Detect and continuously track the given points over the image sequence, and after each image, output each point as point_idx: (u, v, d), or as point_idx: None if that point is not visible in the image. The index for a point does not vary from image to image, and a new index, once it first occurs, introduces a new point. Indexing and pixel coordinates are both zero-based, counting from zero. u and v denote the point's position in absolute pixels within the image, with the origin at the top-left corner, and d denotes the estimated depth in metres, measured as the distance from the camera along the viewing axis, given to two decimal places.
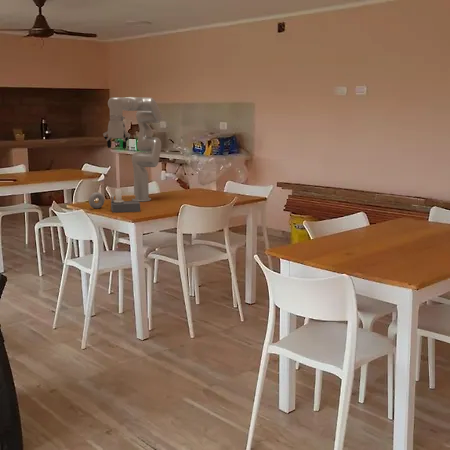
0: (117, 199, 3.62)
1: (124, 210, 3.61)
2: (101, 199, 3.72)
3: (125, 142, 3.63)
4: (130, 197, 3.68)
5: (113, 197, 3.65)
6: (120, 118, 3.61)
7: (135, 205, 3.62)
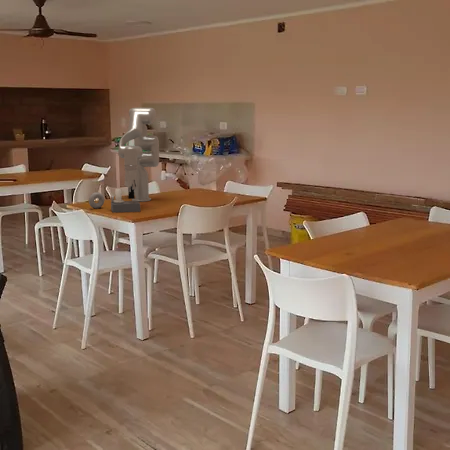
0: (117, 199, 3.62)
1: (124, 210, 3.61)
2: (101, 199, 3.72)
3: None
4: None
5: (113, 197, 3.65)
6: None
7: (135, 205, 3.62)
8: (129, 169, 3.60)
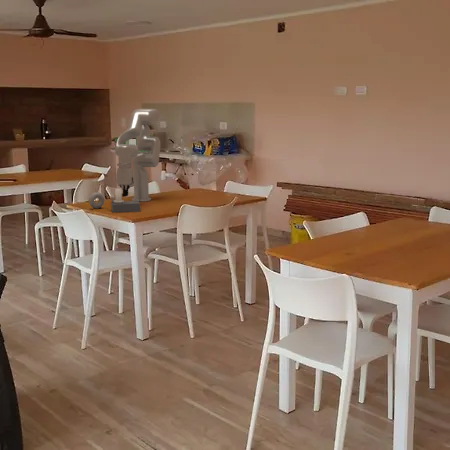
0: (117, 199, 3.62)
1: (124, 210, 3.61)
2: (101, 199, 3.72)
3: None
4: None
5: (114, 197, 3.66)
6: None
7: (135, 205, 3.62)
8: (127, 167, 3.68)
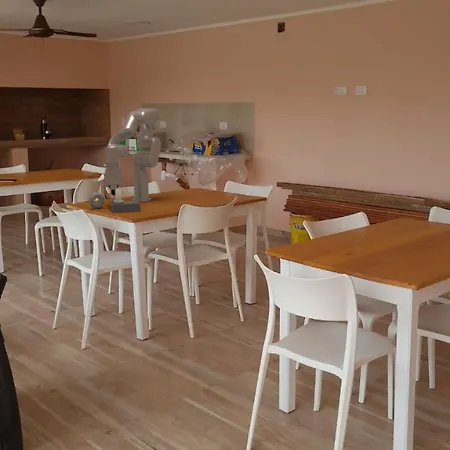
0: (117, 199, 3.62)
1: (124, 210, 3.61)
2: (101, 199, 3.72)
3: None
4: None
5: None
6: None
7: (135, 205, 3.62)
8: (118, 167, 3.72)
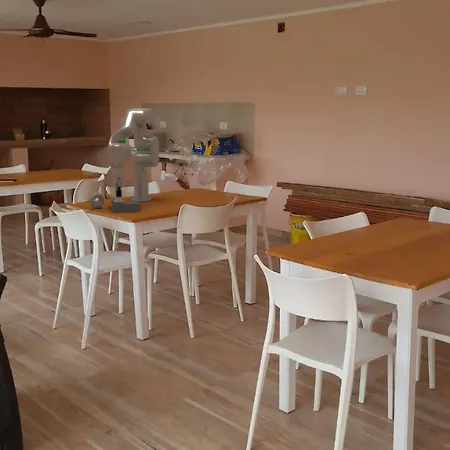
0: (117, 199, 3.62)
1: (124, 210, 3.61)
2: (101, 199, 3.72)
3: None
4: None
5: None
6: None
7: (135, 205, 3.62)
8: (115, 167, 3.57)
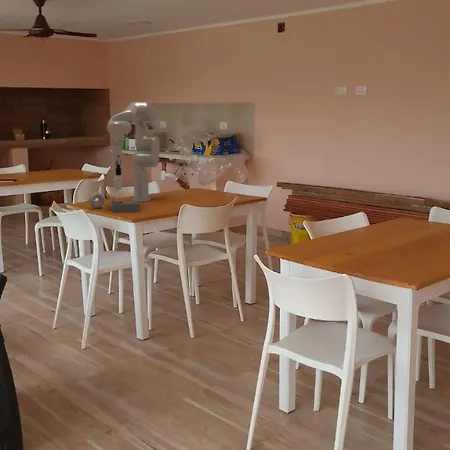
0: (117, 177, 3.60)
1: (124, 210, 3.61)
2: (101, 199, 3.72)
3: None
4: None
5: None
6: None
7: (135, 205, 3.62)
8: (114, 144, 3.54)
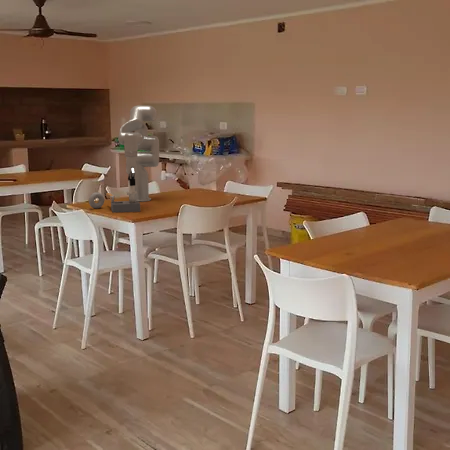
0: (130, 190, 3.64)
1: (124, 210, 3.61)
2: (101, 199, 3.72)
3: None
4: None
5: None
6: None
7: (135, 205, 3.62)
8: (128, 156, 3.58)
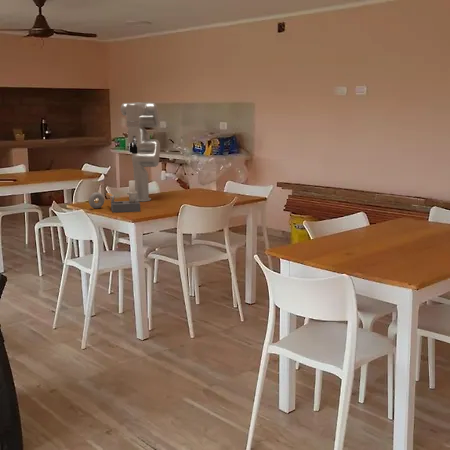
0: (131, 190, 3.64)
1: (124, 210, 3.61)
2: (101, 199, 3.72)
3: None
4: None
5: None
6: None
7: (135, 205, 3.62)
8: (130, 125, 3.65)
